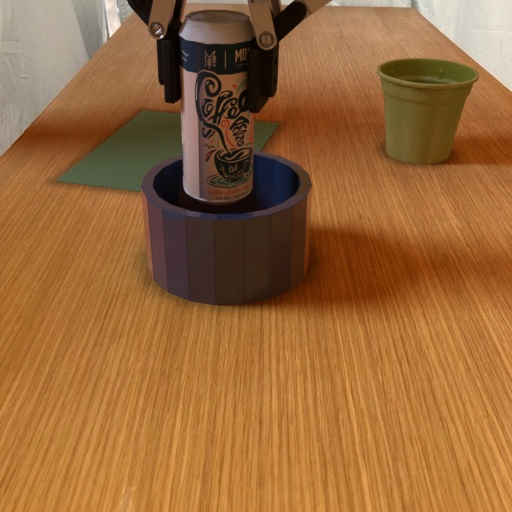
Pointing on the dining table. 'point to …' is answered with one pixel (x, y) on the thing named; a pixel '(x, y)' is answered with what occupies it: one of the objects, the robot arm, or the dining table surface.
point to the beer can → (216, 106)
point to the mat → (141, 151)
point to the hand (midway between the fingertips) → (217, 98)
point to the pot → (228, 234)
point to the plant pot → (423, 106)
